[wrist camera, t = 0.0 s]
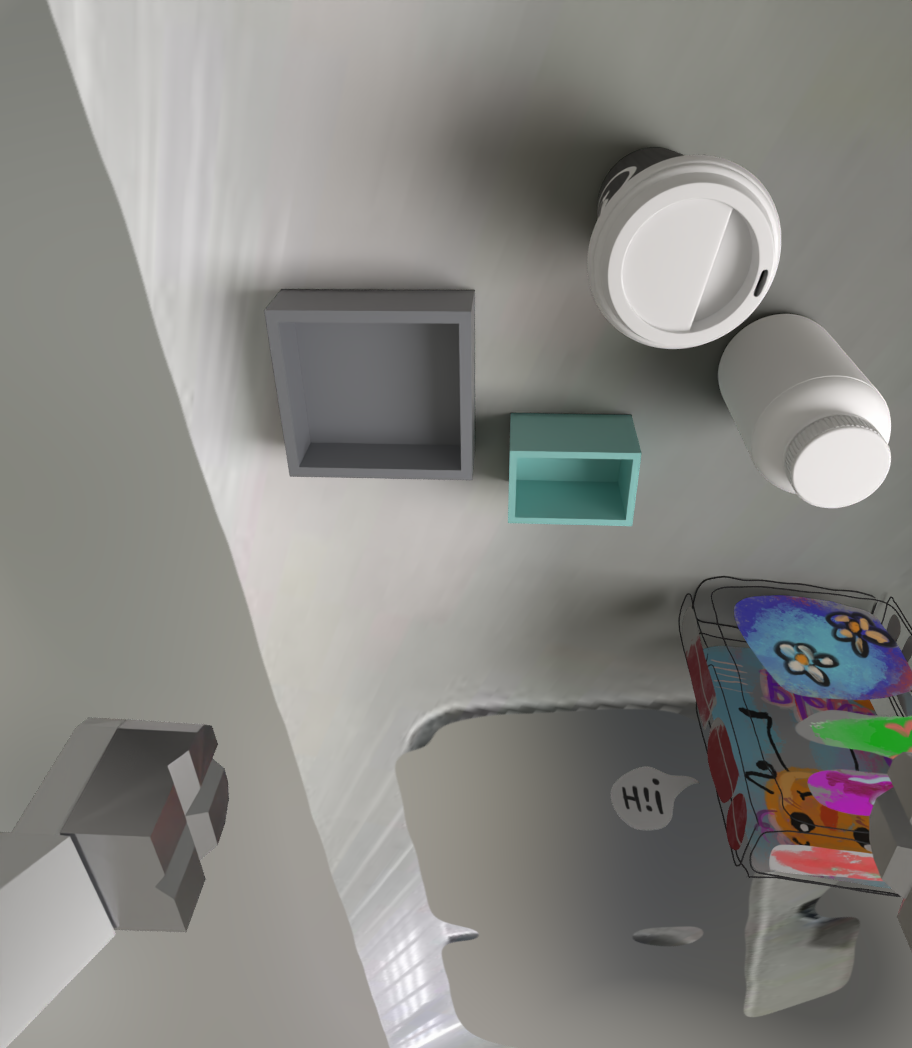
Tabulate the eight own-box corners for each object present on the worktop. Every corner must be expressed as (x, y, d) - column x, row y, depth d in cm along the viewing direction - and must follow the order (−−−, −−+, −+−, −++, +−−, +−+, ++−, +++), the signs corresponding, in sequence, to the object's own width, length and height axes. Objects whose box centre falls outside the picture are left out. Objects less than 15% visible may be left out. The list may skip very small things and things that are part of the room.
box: (582, 617, 70) (606, 869, 50) (593, 562, 67) (625, 808, 47) (863, 646, 70) (1003, 911, 50) (890, 592, 66) (1052, 852, 46)
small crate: (510, 412, 60) (509, 450, 55) (631, 414, 59) (641, 453, 54) (509, 481, 63) (508, 523, 58) (623, 483, 62) (632, 526, 57)
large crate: (281, 289, 56) (264, 310, 52) (474, 290, 55) (471, 311, 51) (303, 447, 62) (289, 476, 59) (475, 451, 62) (472, 480, 58)
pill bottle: (700, 339, 56) (751, 438, 43) (817, 291, 53) (908, 381, 41) (731, 431, 59) (787, 547, 47) (842, 390, 57) (933, 500, 44)
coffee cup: (657, 304, 54) (698, 395, 42) (544, 225, 52) (551, 297, 40) (757, 178, 50) (837, 239, 37) (637, 85, 47) (679, 117, 35)
